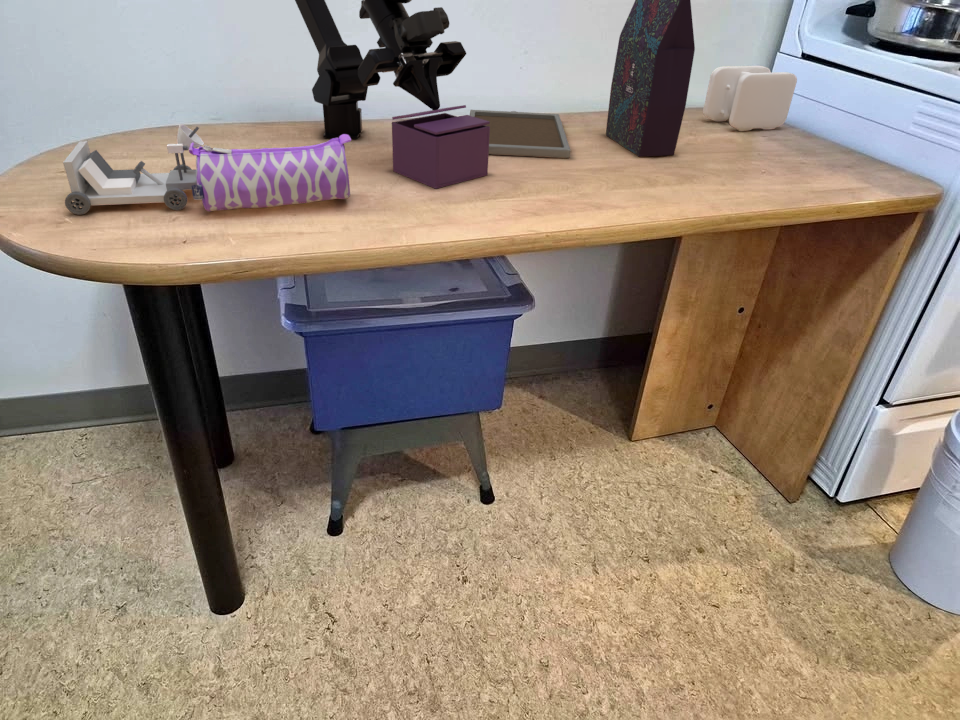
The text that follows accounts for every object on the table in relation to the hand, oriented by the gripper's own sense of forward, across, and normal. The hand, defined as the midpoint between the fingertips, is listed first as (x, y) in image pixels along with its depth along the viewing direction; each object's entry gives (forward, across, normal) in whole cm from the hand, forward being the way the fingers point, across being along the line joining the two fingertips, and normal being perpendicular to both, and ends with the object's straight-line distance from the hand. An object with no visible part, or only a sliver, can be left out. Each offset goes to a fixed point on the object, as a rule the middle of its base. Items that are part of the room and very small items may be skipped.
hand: (437, 108), depth 110 cm
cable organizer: (+18, +77, -3) cm, 79 cm away
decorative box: (+15, +43, 0) cm, 46 cm away
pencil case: (+6, -29, +9) cm, 31 cm away
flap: (0, 0, +2) cm, 2 cm away
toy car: (-4, -42, +18) cm, 46 cm away
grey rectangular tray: (+1, +28, +13) cm, 31 cm away
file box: (+8, 0, +7) cm, 10 cm away
